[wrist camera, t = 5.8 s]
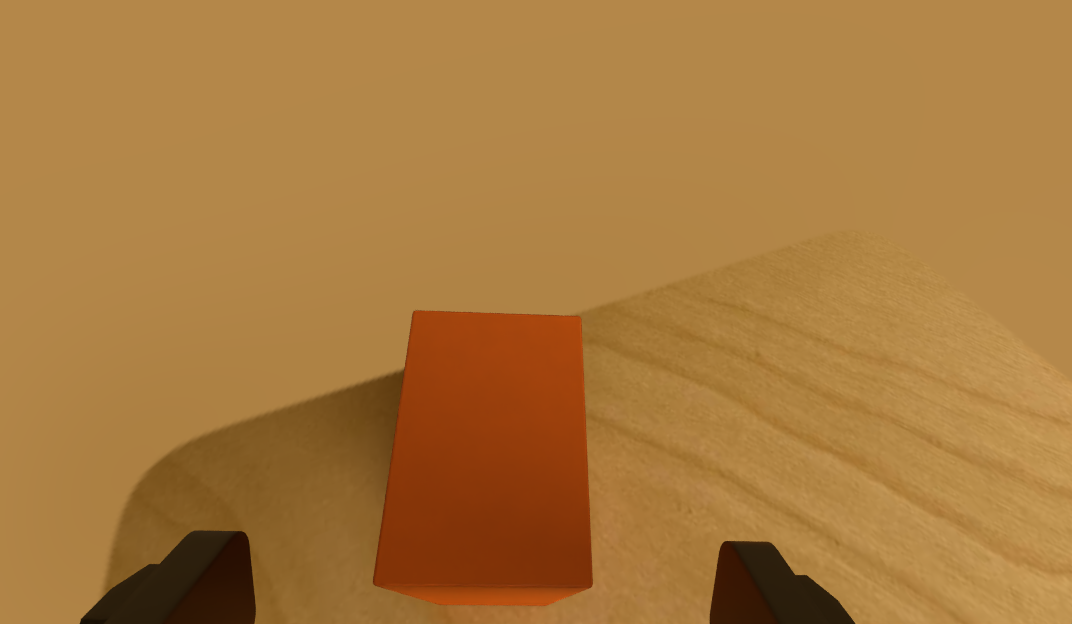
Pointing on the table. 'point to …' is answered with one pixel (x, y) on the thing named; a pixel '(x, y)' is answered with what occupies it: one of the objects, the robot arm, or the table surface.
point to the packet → (489, 463)
